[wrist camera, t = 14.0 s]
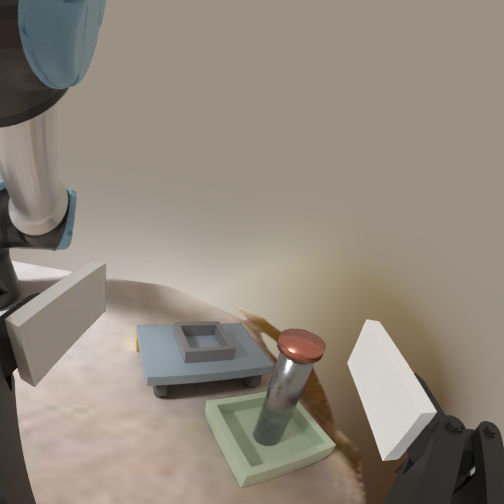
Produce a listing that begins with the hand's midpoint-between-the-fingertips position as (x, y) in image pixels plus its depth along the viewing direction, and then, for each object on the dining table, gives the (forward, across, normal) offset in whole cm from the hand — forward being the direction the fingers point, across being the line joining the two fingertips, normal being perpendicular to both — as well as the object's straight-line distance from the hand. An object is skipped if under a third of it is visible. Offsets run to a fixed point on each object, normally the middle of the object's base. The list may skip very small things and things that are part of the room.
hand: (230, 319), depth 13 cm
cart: (+24, -4, -24) cm, 34 cm away
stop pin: (+11, +8, -22) cm, 26 cm away
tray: (+11, +8, -24) cm, 27 cm away
